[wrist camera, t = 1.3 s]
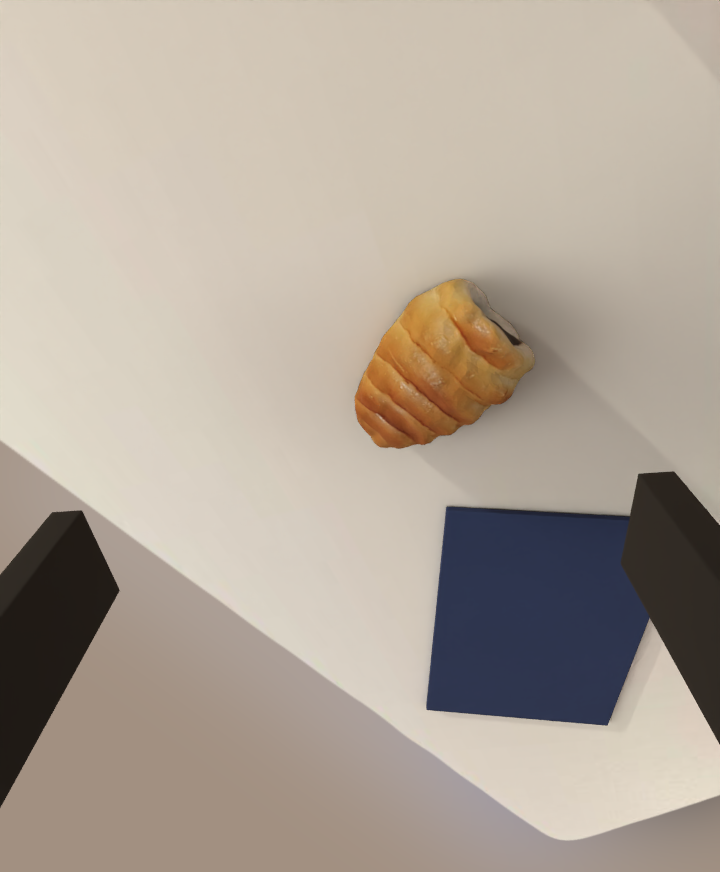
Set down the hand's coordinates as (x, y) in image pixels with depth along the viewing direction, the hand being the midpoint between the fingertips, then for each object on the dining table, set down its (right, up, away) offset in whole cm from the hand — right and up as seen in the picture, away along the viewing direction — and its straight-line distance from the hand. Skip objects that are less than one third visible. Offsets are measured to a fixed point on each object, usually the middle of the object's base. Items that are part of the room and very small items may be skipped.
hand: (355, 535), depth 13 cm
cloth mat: (+12, -11, +24) cm, 29 cm away
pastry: (+4, +7, +15) cm, 17 cm away
